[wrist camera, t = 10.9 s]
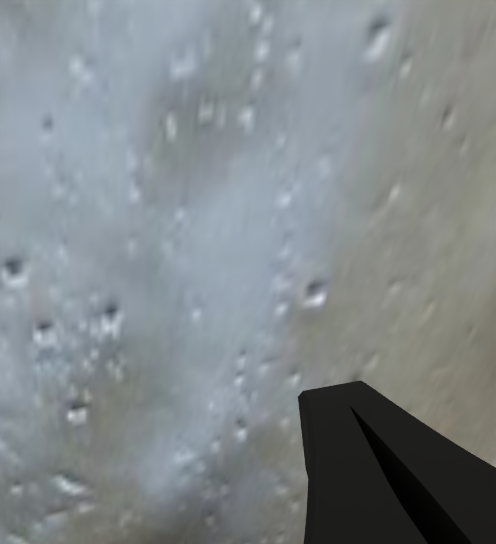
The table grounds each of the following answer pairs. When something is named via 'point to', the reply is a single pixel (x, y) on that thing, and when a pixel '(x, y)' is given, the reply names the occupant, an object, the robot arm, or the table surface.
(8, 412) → the table surface
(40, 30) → the table surface
